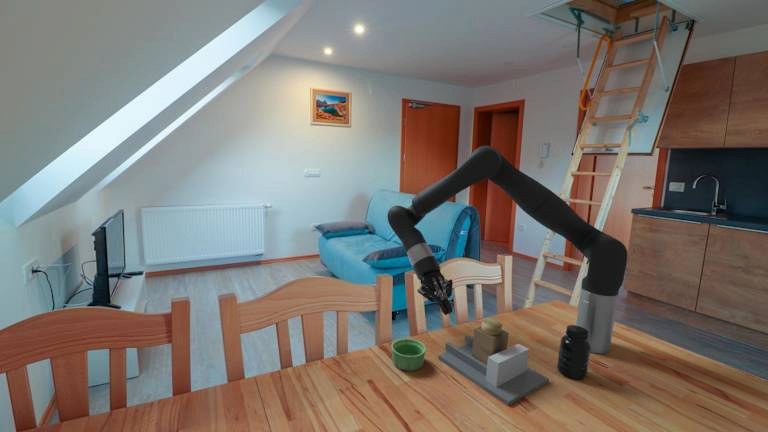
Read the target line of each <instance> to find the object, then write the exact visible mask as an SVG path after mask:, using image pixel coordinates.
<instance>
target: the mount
mask: <svg viewBox="0 0 768 432" xmlns="http://www.w3.org/2000/svg"><path fill="white" fill-rule="evenodd" d="M464 343H465V344H463V345H461V346H459V347H457V345H454V344H453V343H451V342H449V341H448V342H445V344H444V345H445V347H444V348H445V349H444V350H445V351H446V352H444V353H441V354H438V355H437V356H438V357H437V359H438V360H439V361H441V362H442V363H443V364H446V365H447V366H448V367H450V368H451V369H452V370H454V371H456V372H457V373H459V374H460V375H461V376H463V377H464V378H466V379H467V380H469V381H471V383H474V384H475V385H476V386H478V387H479V388H480V389H482V390H483V391H484V392H486V393H488V394H489V395H491V396H493V397H494V398H495V399H497V400H499V402H501V403H503V404H505V405H506V406H510V405H512V404H514V403H515V402H517V401H519V400H521V399H523V398H524V397H526V396H527V395H529V394H531V393H533V392H534V391H536V390H537V389H540V388H541V387H542V386H544V385H546V384H548V383H549V379H550V378H549V377H547V376H546V375H544V374H541V373H540V372H538V371H536V370H534V369H533V368H531V367H530V366H528V361H529V353H530V348H527V347H526V346H524V345H522V344H519V343H517V344H514V345H512V346H511V347H507V349H506V350H503V351H501V352H499V353H496V354H494V355H492V356H490V357H488V362H487V365H486V364H484V363H483V362H481V361H479V360H478V359H476V358H474V357H473V356H472V348H473V337H472V336H471V335H470V334H466V335H465V337H464Z"/></svg>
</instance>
